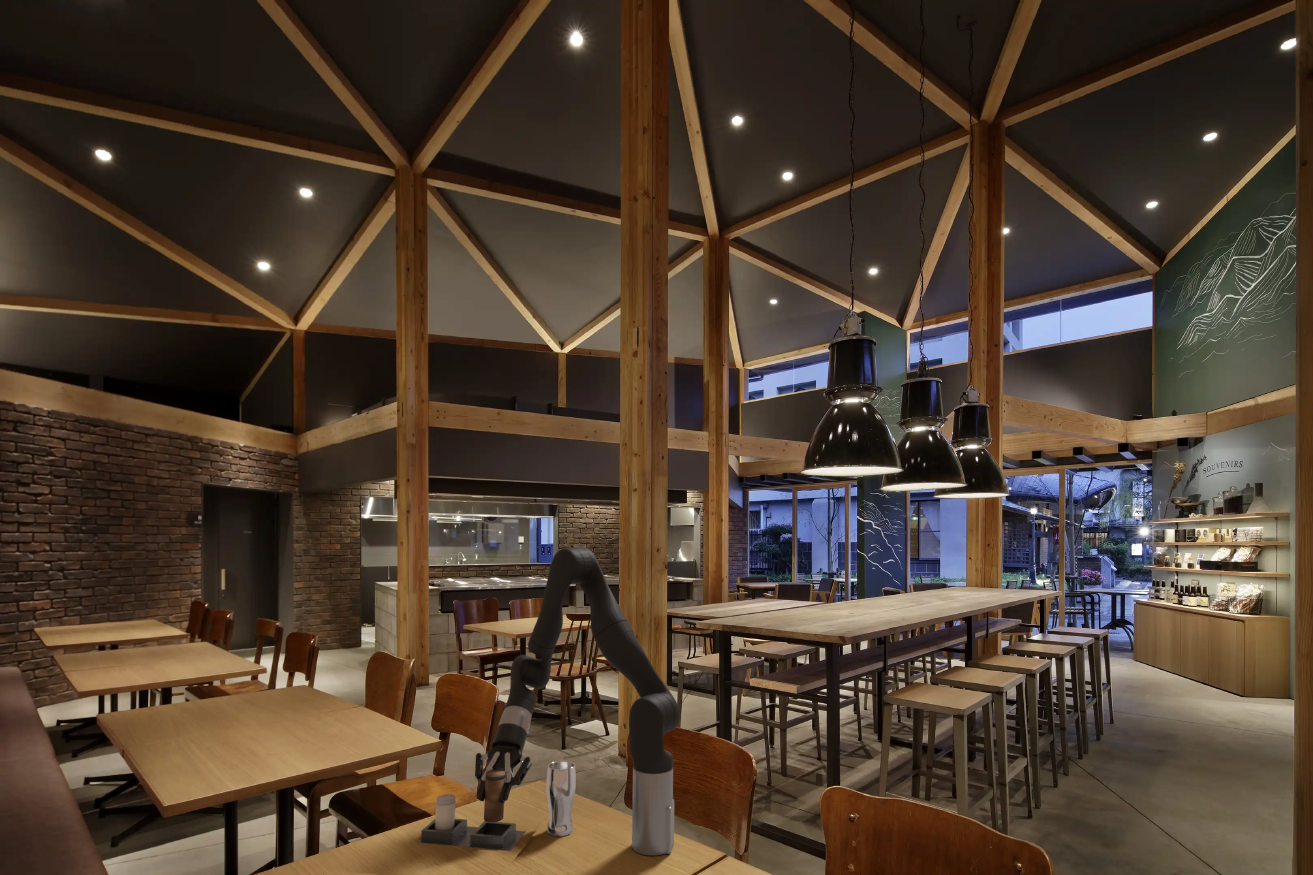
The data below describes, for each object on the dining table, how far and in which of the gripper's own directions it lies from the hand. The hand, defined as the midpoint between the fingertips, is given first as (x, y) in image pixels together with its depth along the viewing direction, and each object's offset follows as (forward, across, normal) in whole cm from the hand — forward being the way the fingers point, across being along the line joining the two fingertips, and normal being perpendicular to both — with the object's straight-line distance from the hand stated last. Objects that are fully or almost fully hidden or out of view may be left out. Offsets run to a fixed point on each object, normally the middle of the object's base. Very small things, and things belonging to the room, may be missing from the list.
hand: (491, 800), depth 160 cm
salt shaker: (+5, -12, +8) cm, 15 cm away
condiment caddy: (+6, -5, +8) cm, 11 cm away
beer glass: (-1, +13, +15) cm, 20 cm away
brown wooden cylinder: (+2, 0, +5) cm, 5 cm away
